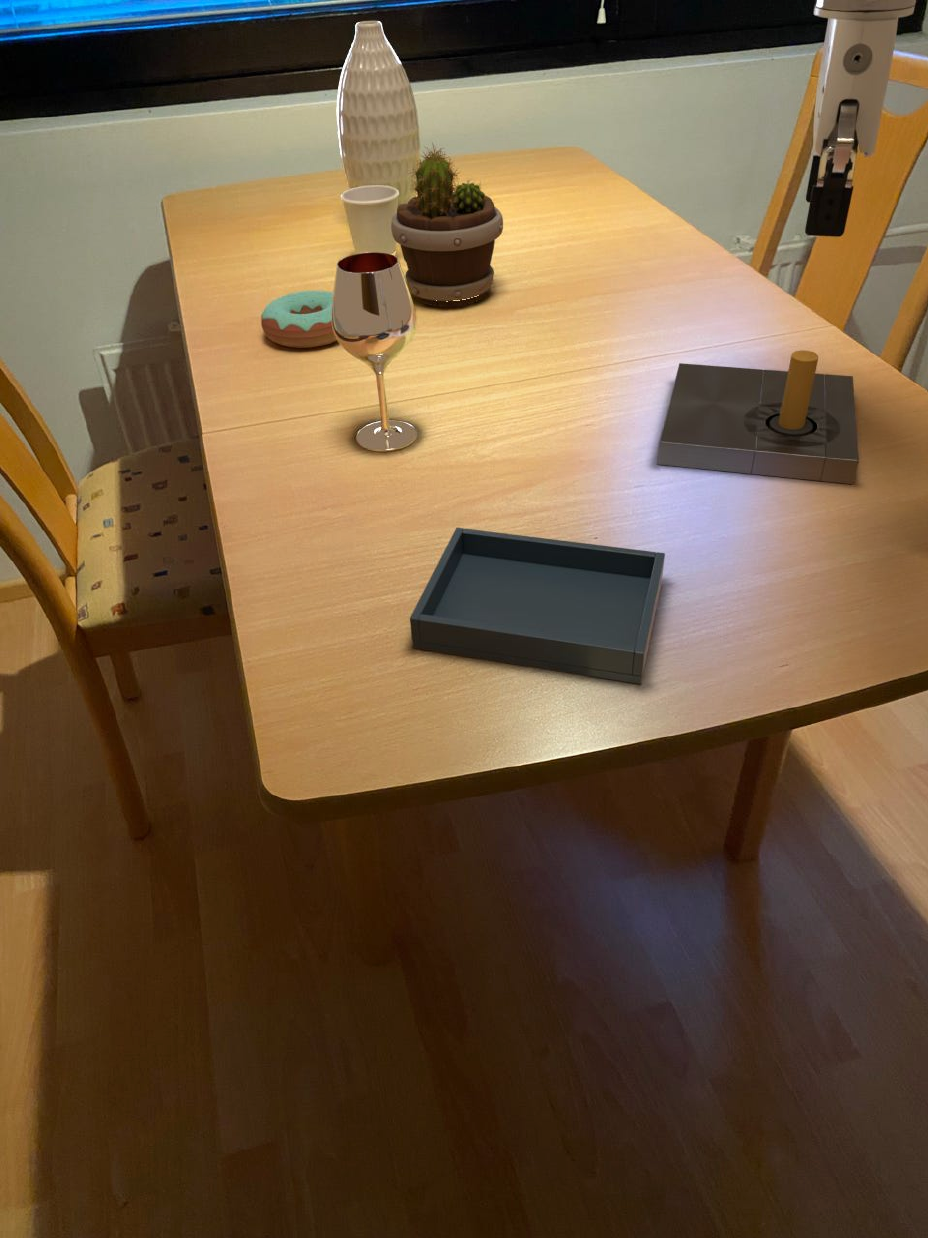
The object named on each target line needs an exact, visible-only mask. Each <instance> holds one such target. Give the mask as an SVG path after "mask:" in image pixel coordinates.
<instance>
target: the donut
mask: <svg viewBox="0 0 928 1238" xmlns="http://www.w3.org/2000/svg"><path fill="white" fill-rule="evenodd" d="M332 298H333V291H329V290H328V291H326V290H301V291H297V292H292V293H287V294H284V295H282V296H280V297H277V298H275V299H274V300H271V301H270V302H269V303H267V305H265V307H264V309H263V311H262V313H261V315H260V316H261V317H260V324H261V325H260V326H261V328H262V331H263V332H264V333H265V335H266V338H268V339H270V340H271V341H272V342H273V343H275V344H278V345H281V346H283V347H288V348H295V349H310V348H318V347H322V346H327V345H330V344H333V343H335V342H338V341H337V339H336V338H335V335H334V333H333V330H332V325H331V309H332Z"/></svg>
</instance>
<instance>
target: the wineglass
mask: <svg viewBox="0 0 928 1238" xmlns="http://www.w3.org/2000/svg"><path fill="white" fill-rule="evenodd" d="M333 282H334V283H333V291H332V292H333V298H332V309H331V325H332V330H333V333H334V335H335V338H336V339H337V341H336V342H337V343H338V344H339V345H340V346H341V348H342V349H343V350H345V351H346V353H348V354H349V355H351V356H352V357H353V358H355V359H357V360H358V361H360V362H362V363H363V364H365V365H366V366H367V367H368V368H370V369H371V370H372V372H373V373H374V374H375V378H376V379H375V380H376V386H377V396H378V405H379V417H380V421H376V422H372V423H370V424H367V425H365V426H363V427H362V428H360V429H359V431H358V432H357V433H356V436H355V440H356V442H357V444H358V446H360V448H363V449H364V450H368V451H372V452H380V453H385V452H386V453H387V452H393V451H398V450H402V449H404V448H407V447H408V446H410V445H412V444H413V443H414V442H415V441H416V439H417V437H418V431H417V429H416V427H415V426H414V425H412V424H410V423H408V422H406V421H401V420H393V419H392V420H390V417H389V411H388V410H389V409H388V402H387V401H388V400H387V391H386V381H385V372H386V370H387V369H388V367H389V365H390V364H391V363H392V362H393V361H394V360H395V359H396V358H397V357H398V356H400V355H401V354H402V352H403V351H404V350H405V349H407V347H408V346H409V344H410V343H411V341H412V340H413V337H414V336H415V333H416V332H415V331H416V329H417V323H418V322H417V319H418V317H417V312H416V308H415V307H416V306H415V303H414V301H413V298H412V297H413V296H412V293H411V291H410V289H409V287H408V284H407V281H406V276H405V274H404V271H403V268H402V266H401V263H400V260H399V258H398V257H397V255H396V256H394V255H392V254H388V253H381V252H367V253H359V254H355V253H354V254H351V255H348V256H345V257H342V258H341V259H339V260H338V261H337V263H336V267H335V274H334V281H333Z"/></svg>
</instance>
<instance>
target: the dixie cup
mask: <svg viewBox="0 0 928 1238" xmlns="http://www.w3.org/2000/svg"><path fill="white" fill-rule="evenodd" d="M398 196H399V191H398V190H397V189H396V188H393V187H390V186H383V185H369V186H361V187H356V188H352V189H349V188H348V189H347V190H344V191H343V192H342V193H341V195H340V200H341V201H342V203H343V207H344V211H345V216H346V220H347V224H348V228H349V233H350V237H351V241H352V246H353V248H354V250H353V251H354V254H359V253H367V252H381V253H388V254H393V253H394V252H395V251H396V252H397V242H396V241H395V240H394V238H393V235H392V230H391V223H392V217H393V216H394V214H396V213H397V203H398Z"/></svg>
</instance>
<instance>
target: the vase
mask: <svg viewBox="0 0 928 1238" xmlns="http://www.w3.org/2000/svg"><path fill="white" fill-rule="evenodd" d="M354 26H355V30H354V31H355V33H354V38H353V41H352V43H351V46H350V49H349V51H348V53H347V56H346V58H345V62H344V64H343V66H342V70H341V73H340V77H339V83H338V89H337V99H336V125H337V136H338V145H339V153H340V158H341V164H342V168H343V172H344V176H345V180H346V183H347V186H348V190H349V189H352V188H356V187H361V186H369V185H383V186H390V187H393V188H396V189H397V190H398V191H399V196H398V203H397V207H398V206H399V205H401V204H407V203H408V202H409V200H410V199H412V198H413V197H414V196H416V193H414V192H415V191H414V192H413V191H412V190H413V189H411V188H413V187H415V186H416V185H414V184H415V183H417V181H416V179H417V178H415V177H416V174H415V172H414V171H417V170H418V168H417V167H420V164H419V163H420V162H419V161H420V160H421V156H419V155H421V139H420V125H419V118H418V117H419V116H418V110H417V106H416V101H415V95H414V92H413V89H412V86H411V83H410V80H409V77H408V75H407V72H406V70H405V68H404V66H403V64H402V62H401V59H399V56H397V53H396V52H395V49H393V47H392V45H391V43H390V41H388V39H387V36H386V35H385V33H384V29H383V24H382V22H381V21H379V20H363V21H359V22H356V24H355V25H354ZM417 160H418V161H417ZM418 162H419V163H418ZM417 164H419V166H418V165H417ZM415 165H416V166H415ZM413 169H415V170H413ZM413 172H414V173H413ZM409 173H410V174H409ZM413 174H415V175H414V176H413V177H411V176H412V175H413ZM411 178H412V179H411ZM412 181H413V182H415V181H416V182H415V183H413V182H412ZM410 185H411V186H410ZM413 185H414V186H413ZM412 186H413V187H412ZM412 194H413V195H414V196H413V195H412Z"/></svg>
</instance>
